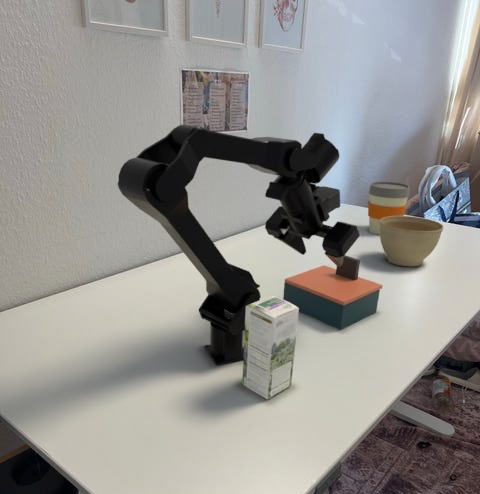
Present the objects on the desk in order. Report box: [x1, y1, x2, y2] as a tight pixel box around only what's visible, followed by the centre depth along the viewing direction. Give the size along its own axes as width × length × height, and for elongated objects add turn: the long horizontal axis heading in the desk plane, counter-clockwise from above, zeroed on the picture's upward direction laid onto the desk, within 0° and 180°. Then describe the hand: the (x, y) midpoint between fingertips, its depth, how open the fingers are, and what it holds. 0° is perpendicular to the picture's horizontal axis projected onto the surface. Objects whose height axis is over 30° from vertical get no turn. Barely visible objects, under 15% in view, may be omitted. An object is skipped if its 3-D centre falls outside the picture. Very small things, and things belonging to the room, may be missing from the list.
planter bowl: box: [379, 215, 445, 267], centre depth 130 cm, size 16×16×11 cm
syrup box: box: [241, 295, 300, 400], centre depth 74 cm, size 6×6×14 cm
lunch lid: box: [284, 254, 383, 306], centre depth 100 cm, size 13×16×5 cm
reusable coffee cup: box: [367, 181, 411, 236], centre depth 155 cm, size 13×12×15 cm
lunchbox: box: [282, 282, 381, 331], centre depth 102 cm, size 13×16×5 cm
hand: (321, 259), depth 96 cm, fingers open, 9 cm apart
